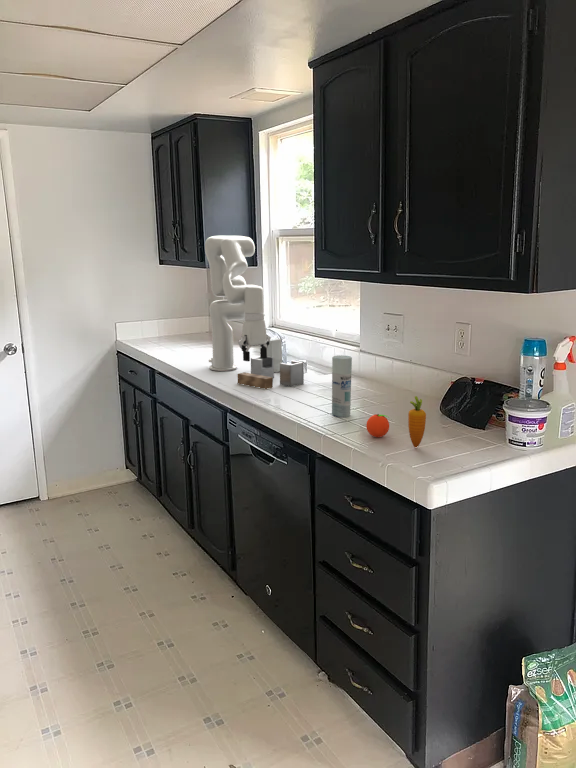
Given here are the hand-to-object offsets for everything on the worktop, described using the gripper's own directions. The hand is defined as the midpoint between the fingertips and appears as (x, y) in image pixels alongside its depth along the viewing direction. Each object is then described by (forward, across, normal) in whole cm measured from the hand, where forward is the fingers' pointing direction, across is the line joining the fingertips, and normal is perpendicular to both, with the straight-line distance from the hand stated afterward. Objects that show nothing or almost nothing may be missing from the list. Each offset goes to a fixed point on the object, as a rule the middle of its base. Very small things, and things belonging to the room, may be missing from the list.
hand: (255, 359), depth 262 cm
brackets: (+11, -12, 0) cm, 16 cm away
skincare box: (+10, -27, -17) cm, 34 cm away
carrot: (+14, +26, +91) cm, 96 cm away
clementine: (+13, +24, +77) cm, 82 cm away
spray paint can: (+13, +12, +53) cm, 56 cm away
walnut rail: (+11, 0, -1) cm, 11 cm away
